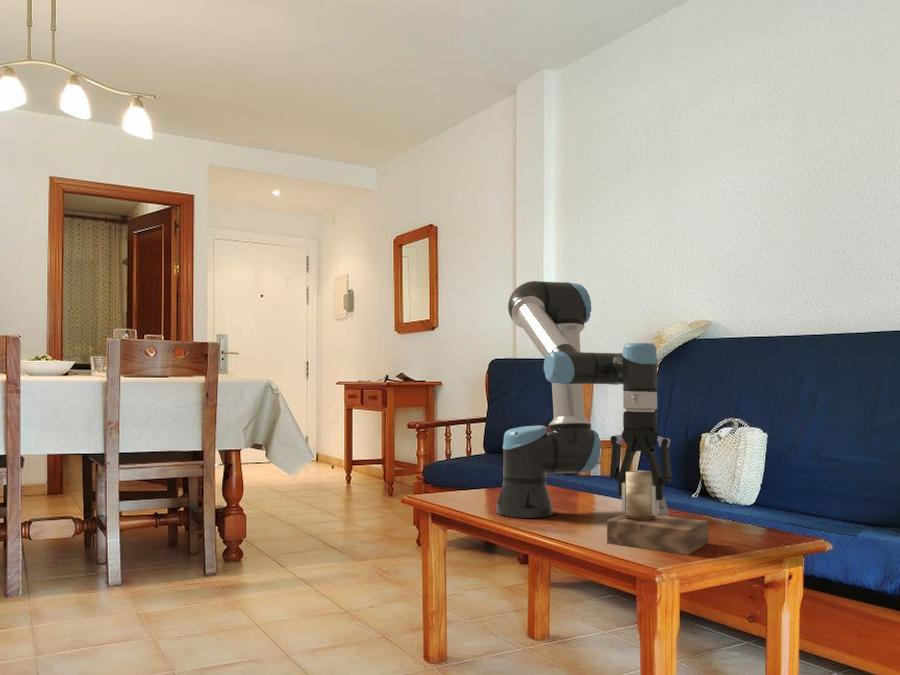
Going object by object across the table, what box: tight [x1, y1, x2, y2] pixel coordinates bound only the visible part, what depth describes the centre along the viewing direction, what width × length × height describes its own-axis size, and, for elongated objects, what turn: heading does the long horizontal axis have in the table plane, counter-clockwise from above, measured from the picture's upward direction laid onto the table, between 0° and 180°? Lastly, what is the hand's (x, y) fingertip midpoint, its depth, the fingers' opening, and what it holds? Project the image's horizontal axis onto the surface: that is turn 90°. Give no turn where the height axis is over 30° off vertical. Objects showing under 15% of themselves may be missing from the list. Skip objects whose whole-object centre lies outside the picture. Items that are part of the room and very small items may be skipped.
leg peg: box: [625, 470, 655, 522], centre depth 167 cm, size 6×6×14 cm
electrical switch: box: [658, 493, 670, 516], centre depth 193 cm, size 9×5×9 cm, turn 141°
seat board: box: [606, 513, 709, 556], centre depth 165 cm, size 18×14×5 cm
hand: (640, 512), depth 167 cm, fingers closed on leg peg, 6 cm apart
